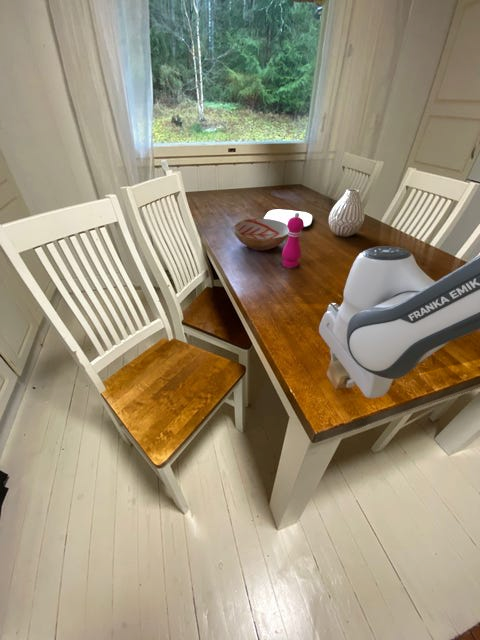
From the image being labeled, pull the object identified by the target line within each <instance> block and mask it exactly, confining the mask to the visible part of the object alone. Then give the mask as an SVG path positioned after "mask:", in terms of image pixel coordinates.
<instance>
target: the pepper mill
mask: <svg viewBox="0 0 480 640" xmlns="http://www.w3.org/2000/svg"><path fill="white" fill-rule="evenodd" d="M287 227H288V229H289V230H288V233H287V234H288V236H287V237H288V238H287V241H286V244H285V245H284V247H283V249H282V252H281V255H282V257H283V258H282V263H281V264H282V265H283V266H284V267H286V268H296V267H298V266H299V261H300V260H299V259H300V258H301V256H302V249H301V246H300V245H301V244H300V237H301V236H302V230H303V229H304V228H305V227H304V221H303V219H302V218H300V217H299V213H295V214H294V217H292V218H290V219H289V220H288V223H287Z"/></svg>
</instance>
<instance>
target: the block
mask: <svg viewBox="0 0 480 640" xmlns="http://www.w3.org/2000/svg"><path fill="white" fill-rule="evenodd" d="M326 377H327V379H329V381H330V382H331V384H332V386H333V388H334V389H335V390H339V389H345V388H347V387H346V385H345V384H344V380H345V378H349V377H350V375H349V374H348V372H347V371H346V369H345V368H344V367H343V365H342V364H341V363H340V361H339V360H336V361H332V362H331V361H329V365H328V368H327V371H326Z"/></svg>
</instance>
